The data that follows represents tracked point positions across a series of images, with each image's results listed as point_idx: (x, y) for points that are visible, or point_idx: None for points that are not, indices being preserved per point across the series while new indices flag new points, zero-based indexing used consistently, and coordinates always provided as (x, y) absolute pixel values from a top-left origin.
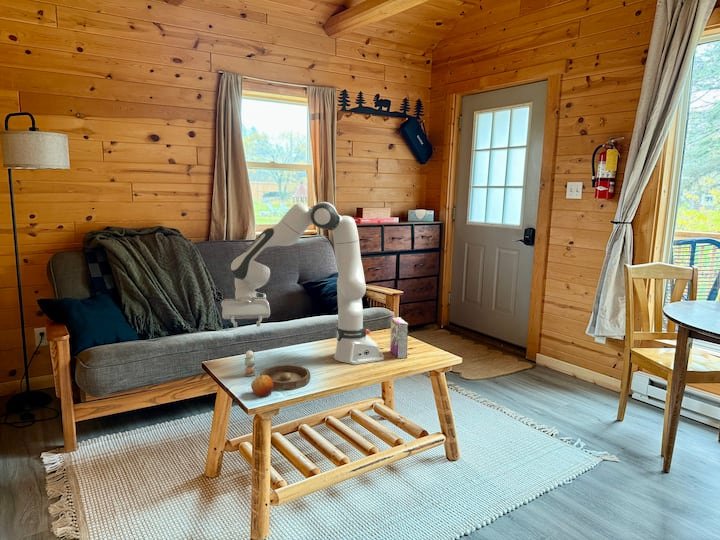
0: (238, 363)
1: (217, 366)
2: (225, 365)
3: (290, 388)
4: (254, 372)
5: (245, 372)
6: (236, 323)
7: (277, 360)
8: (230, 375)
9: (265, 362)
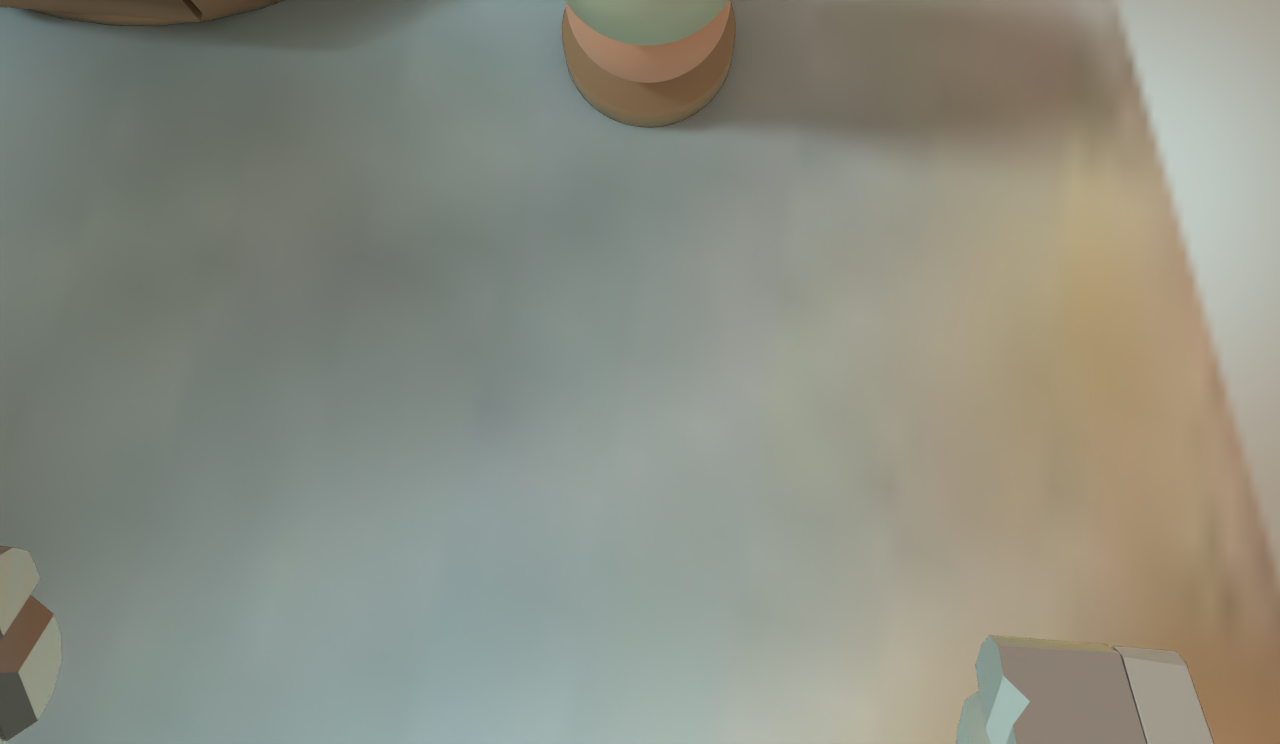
0: (753, 723)
1: None
2: None
3: None
4: (568, 32)
5: (717, 79)
6: (1060, 711)
7: None
8: (961, 146)
9: (253, 610)
